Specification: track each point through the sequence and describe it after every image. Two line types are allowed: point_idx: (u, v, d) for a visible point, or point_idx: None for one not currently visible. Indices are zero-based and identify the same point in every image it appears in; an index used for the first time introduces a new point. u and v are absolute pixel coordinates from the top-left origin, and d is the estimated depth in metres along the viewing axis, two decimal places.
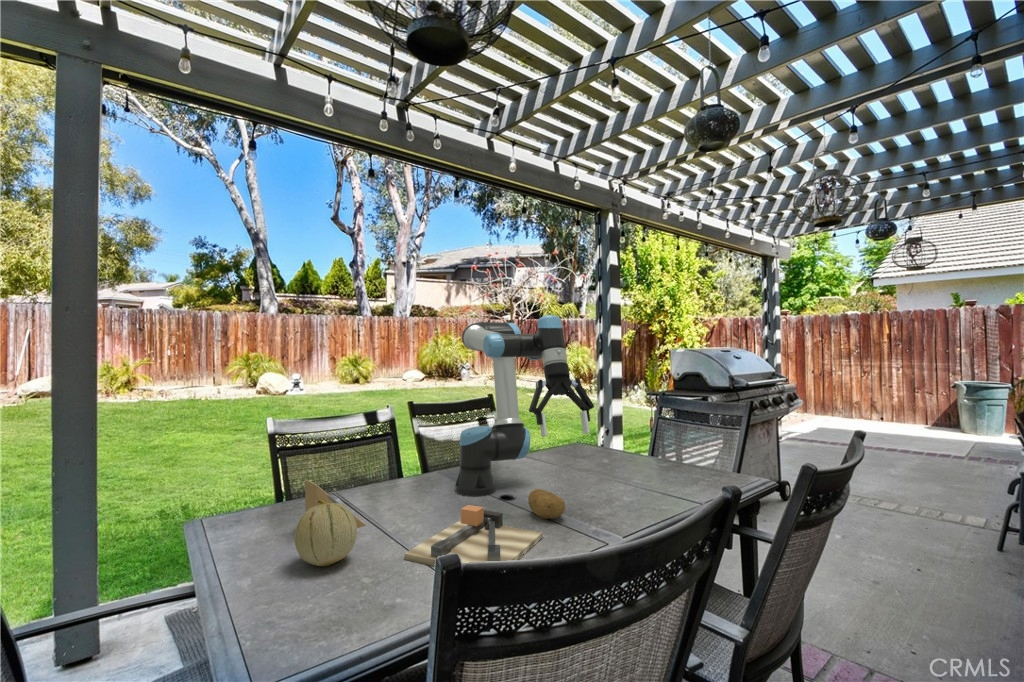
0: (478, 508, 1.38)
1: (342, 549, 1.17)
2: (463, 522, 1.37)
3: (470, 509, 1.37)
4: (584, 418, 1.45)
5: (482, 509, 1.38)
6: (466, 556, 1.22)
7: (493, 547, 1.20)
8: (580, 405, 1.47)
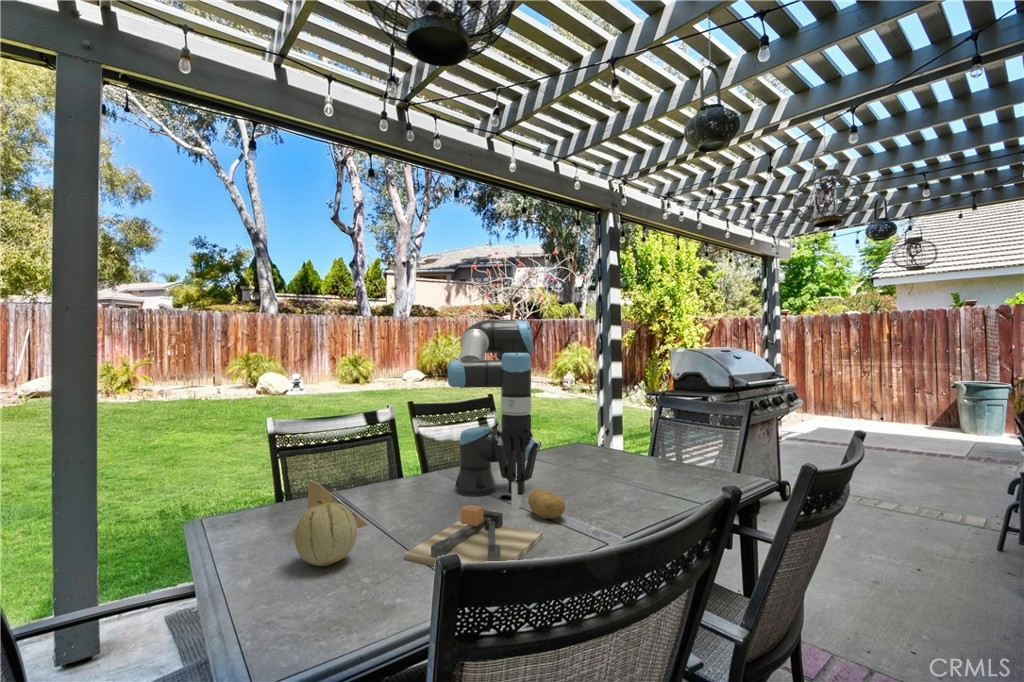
0: (478, 508, 1.38)
1: (342, 549, 1.17)
2: (463, 522, 1.37)
3: (470, 509, 1.37)
4: None
5: (482, 509, 1.38)
6: (466, 556, 1.22)
7: (493, 547, 1.20)
8: None
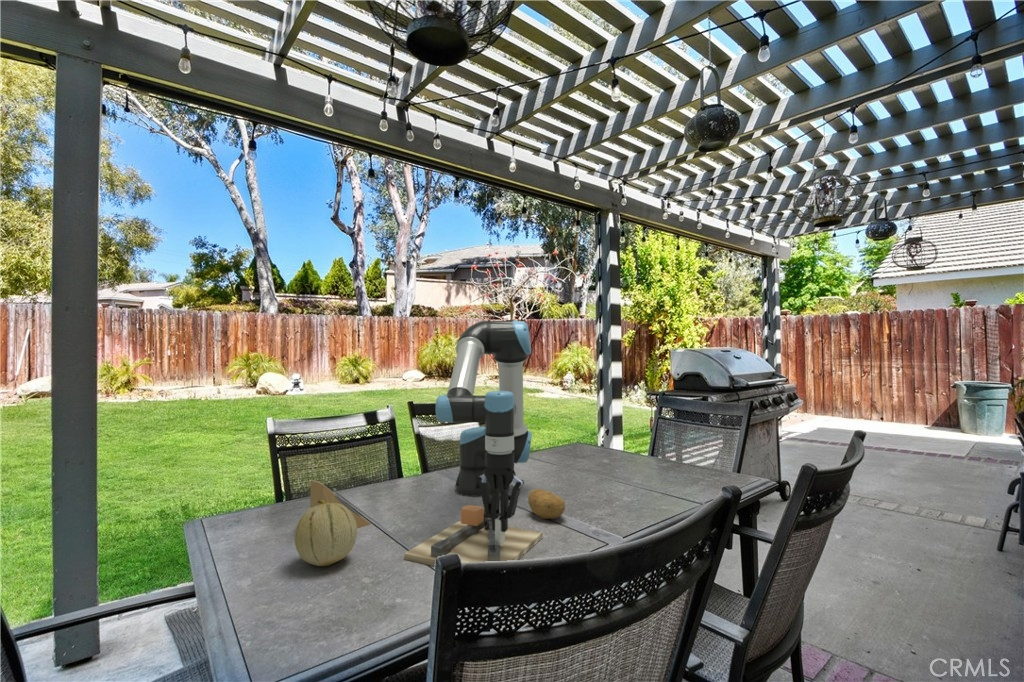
0: (478, 508, 1.38)
1: (342, 549, 1.17)
2: (463, 522, 1.37)
3: (470, 509, 1.37)
4: None
5: (482, 509, 1.38)
6: (466, 556, 1.22)
7: (492, 547, 1.20)
8: None
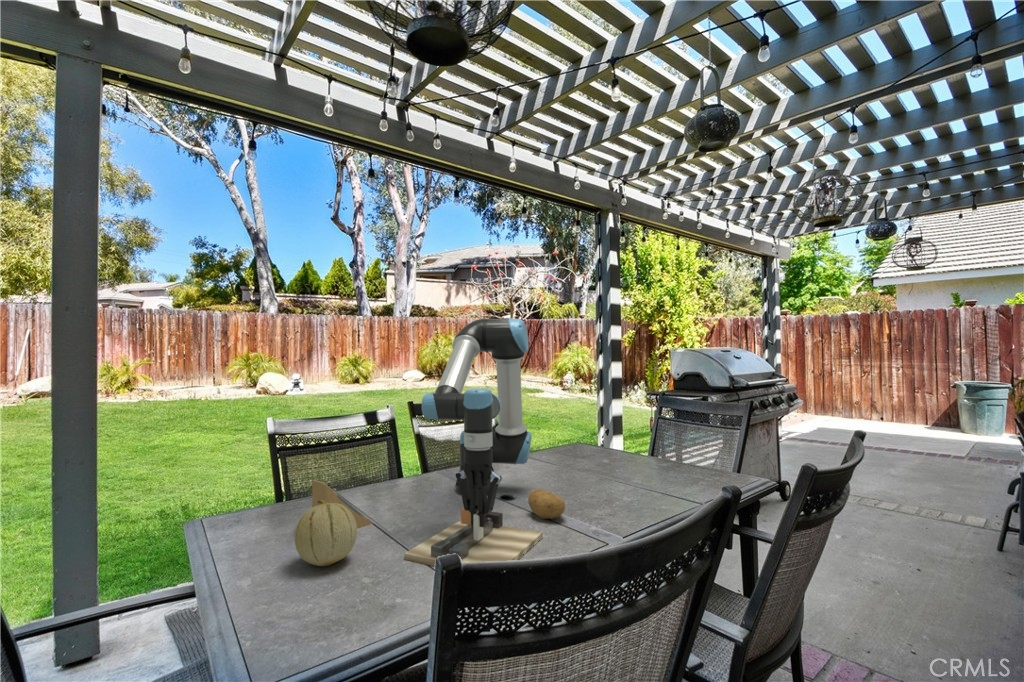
0: None
1: (342, 549, 1.17)
2: (463, 522, 1.37)
3: None
4: None
5: None
6: (466, 556, 1.22)
7: (458, 546, 1.21)
8: None
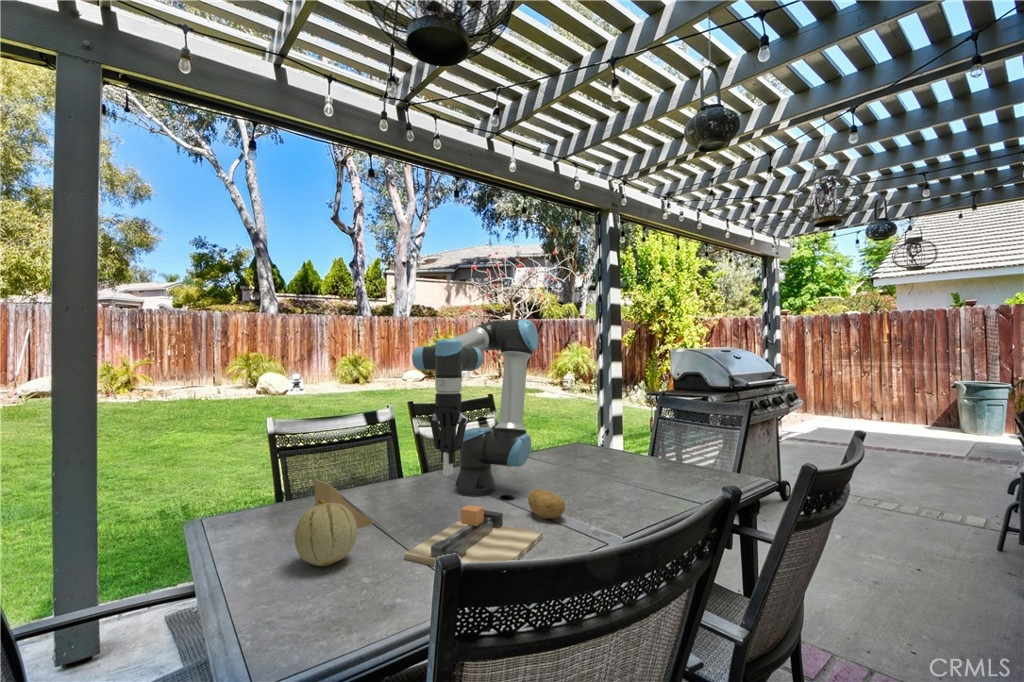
0: (478, 508, 1.38)
1: (342, 549, 1.17)
2: (463, 522, 1.37)
3: (470, 509, 1.37)
4: None
5: (482, 509, 1.38)
6: (466, 556, 1.22)
7: (456, 546, 1.21)
8: None
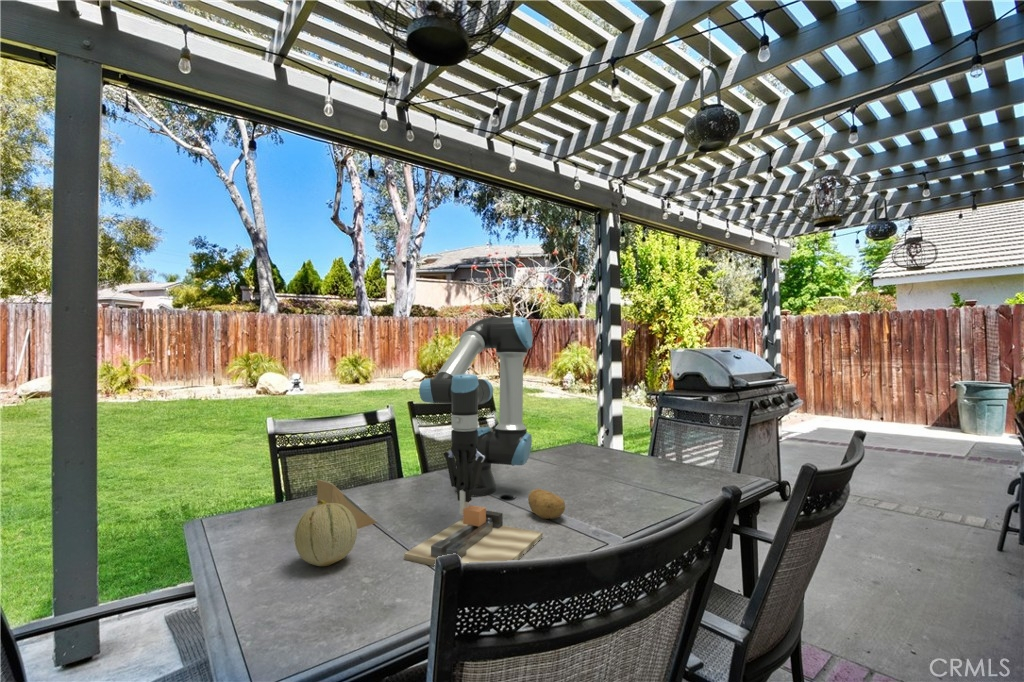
0: (480, 508, 1.37)
1: (342, 549, 1.17)
2: (465, 522, 1.36)
3: (472, 509, 1.36)
4: None
5: (484, 509, 1.38)
6: (466, 556, 1.22)
7: (456, 546, 1.21)
8: None
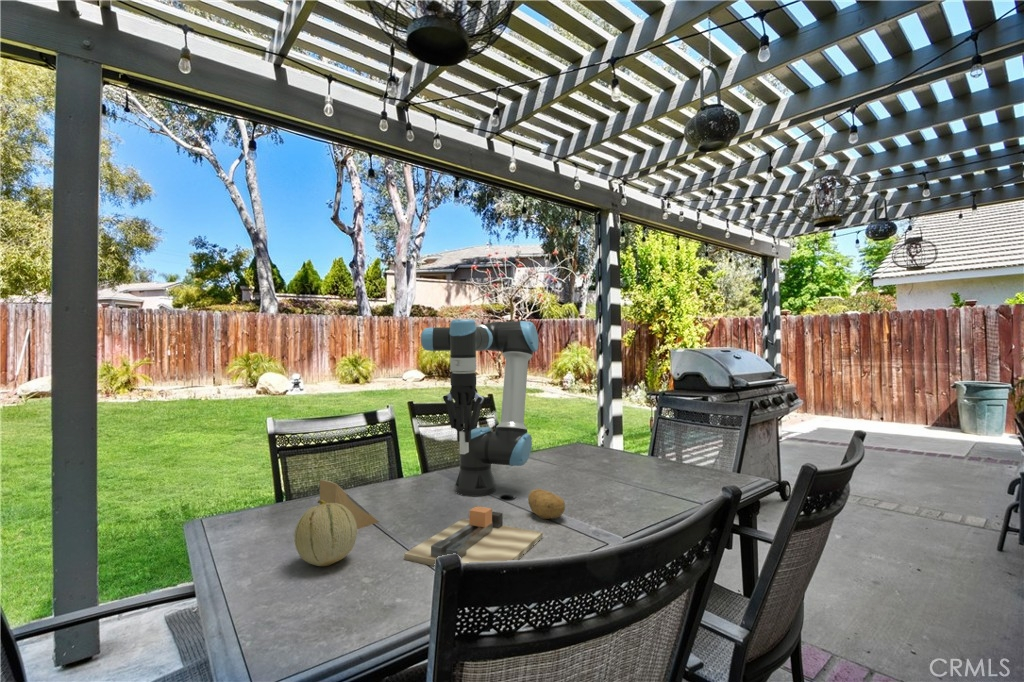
0: (487, 509, 1.36)
1: (342, 549, 1.17)
2: (471, 523, 1.36)
3: (478, 510, 1.36)
4: None
5: (491, 510, 1.37)
6: (466, 556, 1.22)
7: (456, 546, 1.21)
8: None
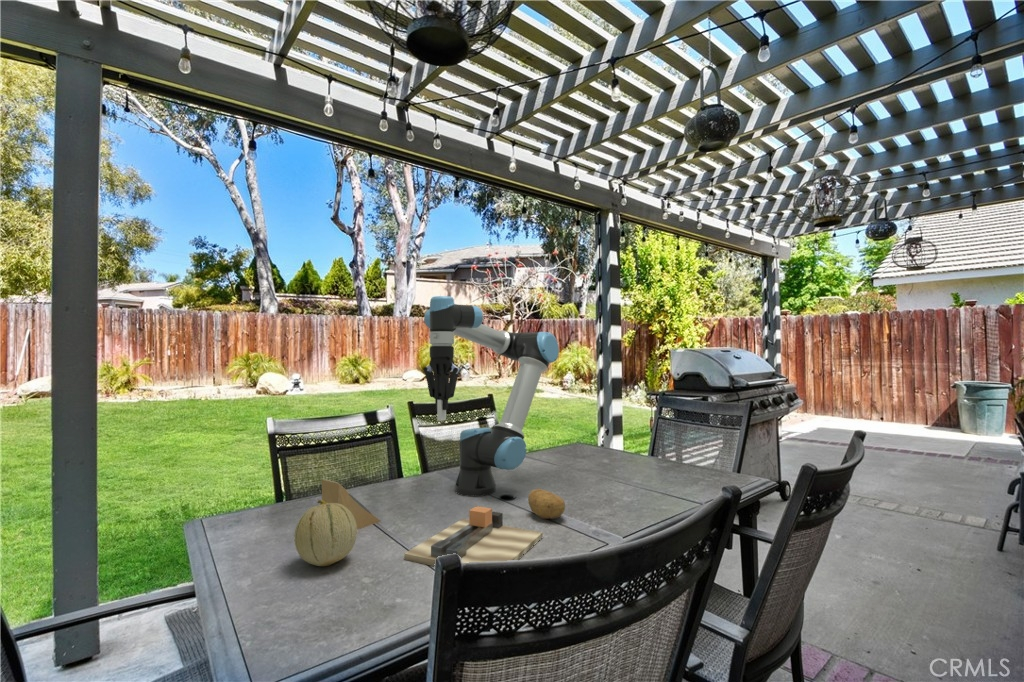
0: (487, 509, 1.36)
1: (342, 549, 1.17)
2: (471, 523, 1.36)
3: (478, 510, 1.36)
4: None
5: (491, 510, 1.37)
6: (466, 556, 1.22)
7: (456, 546, 1.21)
8: None
